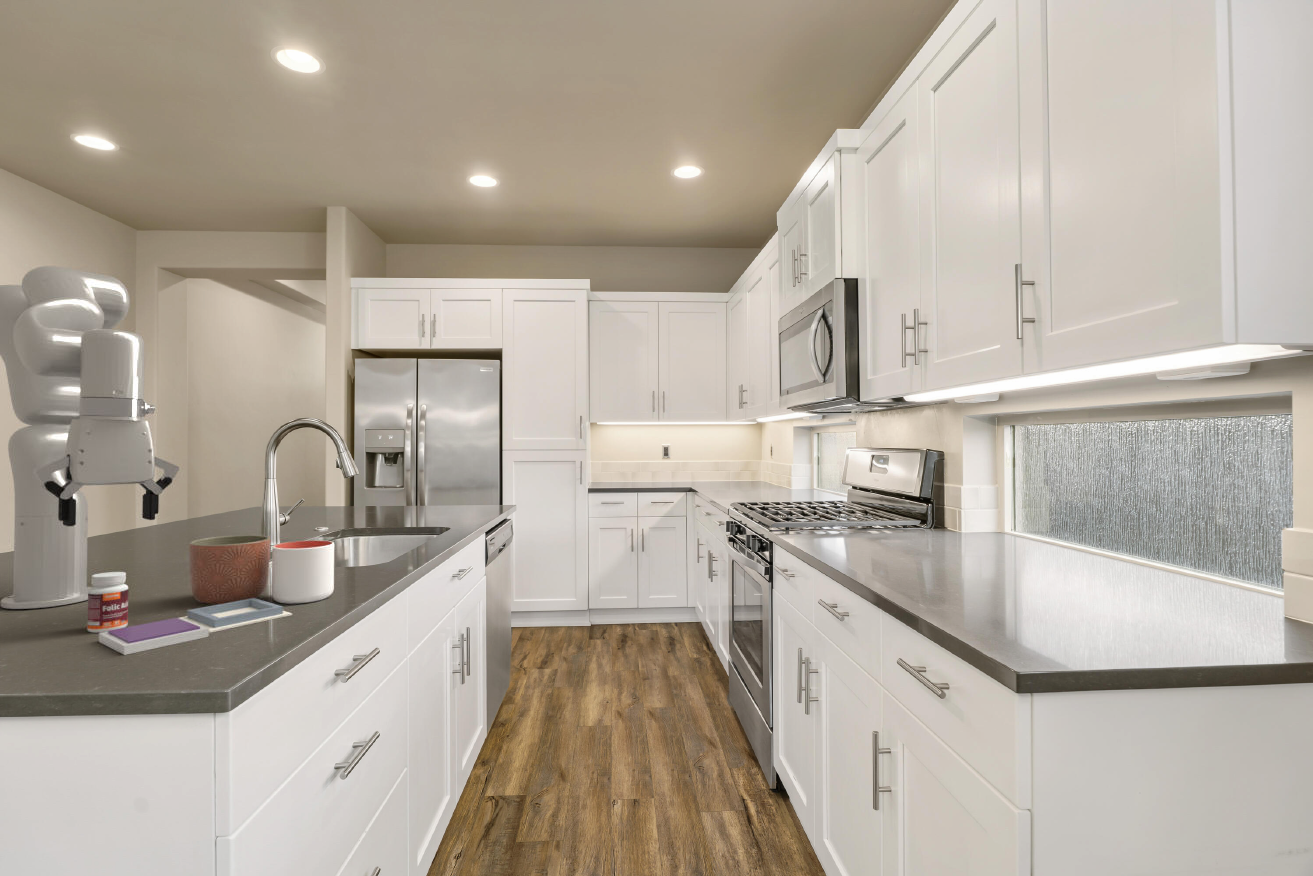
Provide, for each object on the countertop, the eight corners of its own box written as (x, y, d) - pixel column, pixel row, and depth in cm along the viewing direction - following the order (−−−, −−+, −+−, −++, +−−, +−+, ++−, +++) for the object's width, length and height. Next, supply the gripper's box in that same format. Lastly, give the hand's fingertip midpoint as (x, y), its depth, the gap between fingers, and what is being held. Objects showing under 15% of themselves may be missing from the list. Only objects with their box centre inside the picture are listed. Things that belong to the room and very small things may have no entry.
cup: (273, 595, 120) (274, 542, 120) (333, 590, 125) (334, 539, 125) (269, 608, 111) (270, 550, 111) (333, 601, 116) (334, 546, 116)
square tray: (177, 619, 103) (177, 610, 103) (257, 604, 113) (257, 596, 113) (210, 632, 96) (210, 622, 96) (292, 615, 106) (292, 606, 106)
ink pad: (98, 641, 92) (99, 631, 92) (180, 625, 100) (180, 615, 100) (124, 655, 86) (124, 643, 86) (208, 636, 94) (208, 626, 94)
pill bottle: (104, 634, 95) (105, 578, 95) (78, 632, 96) (79, 576, 96) (136, 625, 100) (136, 571, 100) (111, 623, 101) (112, 570, 101)
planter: (192, 612, 108) (193, 547, 108) (185, 598, 117) (185, 538, 117) (276, 600, 116) (276, 540, 116) (263, 588, 125) (263, 533, 126)
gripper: (169, 413, 107) (167, 515, 107) (28, 408, 93) (26, 526, 93) (188, 413, 103) (186, 518, 103) (43, 407, 89) (41, 530, 89)
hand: (110, 522), depth 98 cm, fingers open, 9 cm apart
